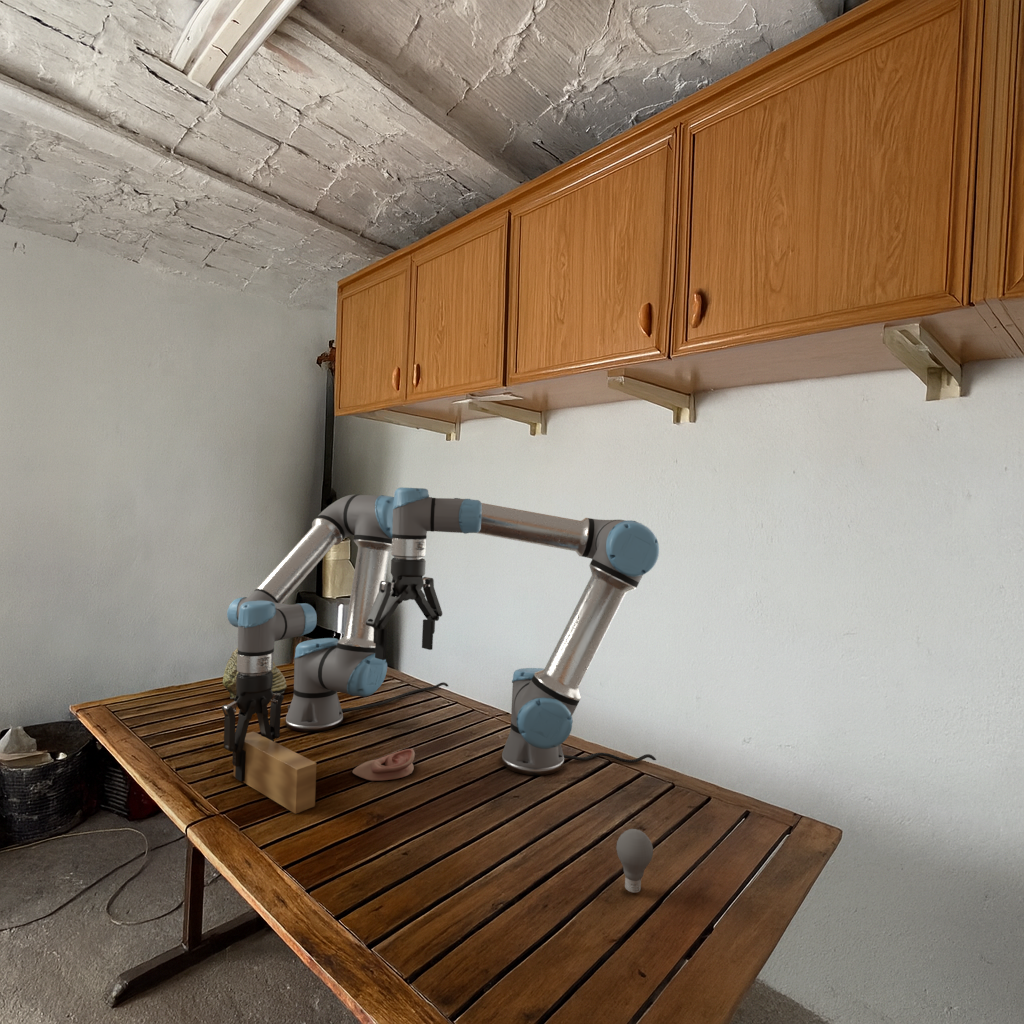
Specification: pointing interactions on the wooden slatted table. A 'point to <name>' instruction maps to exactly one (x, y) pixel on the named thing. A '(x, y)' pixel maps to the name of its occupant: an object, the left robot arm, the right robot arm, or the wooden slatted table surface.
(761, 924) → the wooden slatted table surface
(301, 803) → the bar
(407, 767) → the anatomical model
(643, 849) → the light bulb
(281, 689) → the fossil
